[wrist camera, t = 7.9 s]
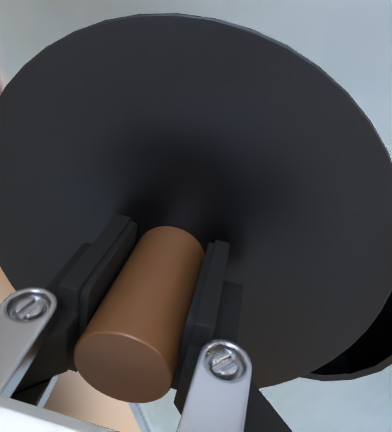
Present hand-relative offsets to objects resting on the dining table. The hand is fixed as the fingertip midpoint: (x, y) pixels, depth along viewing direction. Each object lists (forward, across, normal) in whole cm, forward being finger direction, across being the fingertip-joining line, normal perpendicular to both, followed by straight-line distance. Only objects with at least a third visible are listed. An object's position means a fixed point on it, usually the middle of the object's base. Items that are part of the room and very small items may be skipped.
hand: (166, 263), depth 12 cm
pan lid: (+1, 0, 0) cm, 1 cm away
